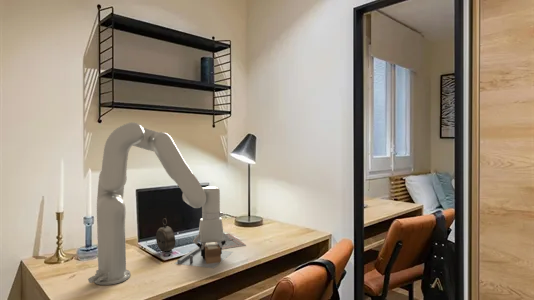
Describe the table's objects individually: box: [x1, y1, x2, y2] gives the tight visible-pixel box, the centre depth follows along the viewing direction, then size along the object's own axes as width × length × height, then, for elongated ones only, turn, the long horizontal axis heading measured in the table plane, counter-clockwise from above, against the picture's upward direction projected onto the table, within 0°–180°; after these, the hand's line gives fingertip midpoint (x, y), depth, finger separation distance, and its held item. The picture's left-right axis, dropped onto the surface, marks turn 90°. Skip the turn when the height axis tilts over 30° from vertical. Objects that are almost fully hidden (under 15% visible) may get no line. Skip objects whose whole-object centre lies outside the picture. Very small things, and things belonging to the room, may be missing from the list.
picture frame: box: [217, 233, 246, 250], centre depth 167 cm, size 16×2×22 cm
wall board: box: [174, 246, 233, 269], centre depth 145 cm, size 20×18×4 cm
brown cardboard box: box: [204, 242, 222, 264], centre depth 144 cm, size 12×6×6 cm, turn 19°
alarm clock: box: [155, 217, 176, 252], centre depth 154 cm, size 11×5×16 cm, turn 45°
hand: (211, 256), depth 145 cm, fingers closed on brown cardboard box, 6 cm apart
